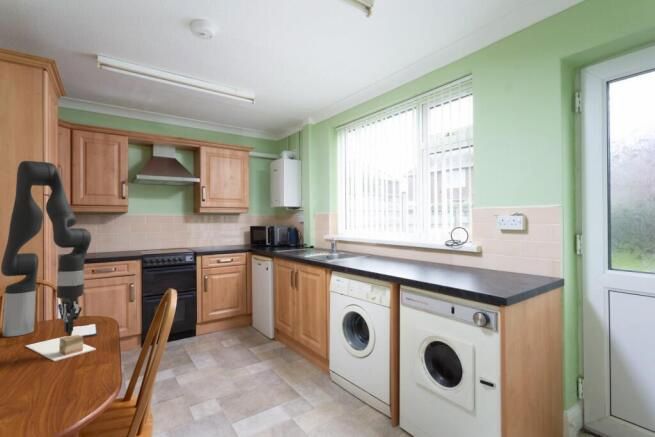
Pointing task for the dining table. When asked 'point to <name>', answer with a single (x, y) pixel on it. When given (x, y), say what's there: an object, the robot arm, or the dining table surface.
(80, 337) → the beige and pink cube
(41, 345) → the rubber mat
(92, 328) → the phone case
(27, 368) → the dining table surface
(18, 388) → the dining table surface
